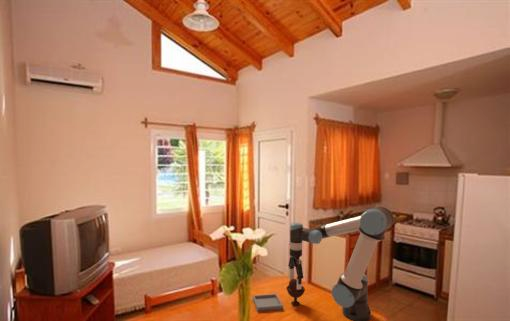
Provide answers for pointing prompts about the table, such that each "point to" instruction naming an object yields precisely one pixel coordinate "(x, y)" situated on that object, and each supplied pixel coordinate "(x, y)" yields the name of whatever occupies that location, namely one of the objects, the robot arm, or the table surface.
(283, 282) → the table surface
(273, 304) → the tray
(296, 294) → the ice cream bowl
